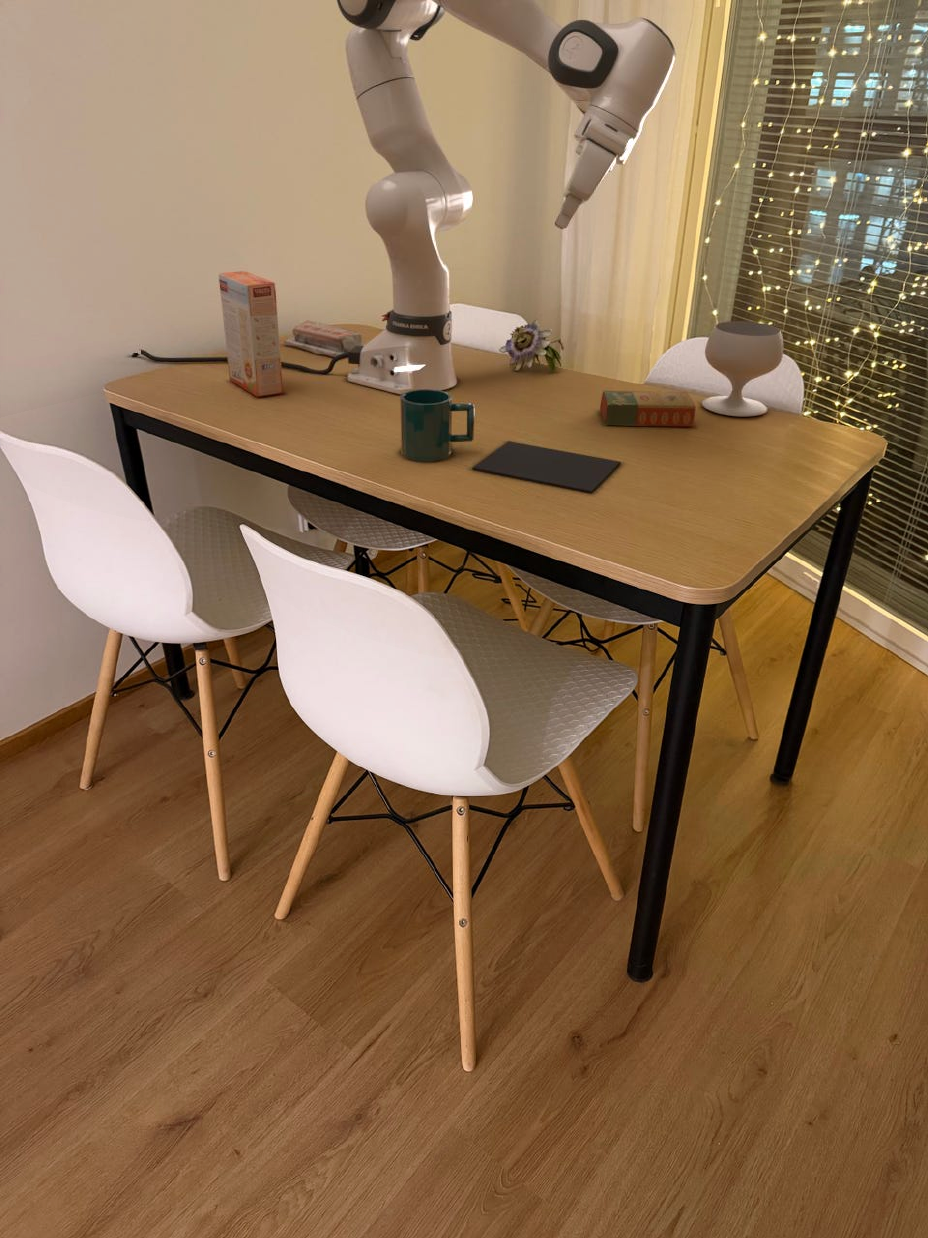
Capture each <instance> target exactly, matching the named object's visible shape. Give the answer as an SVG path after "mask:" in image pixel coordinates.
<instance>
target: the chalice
mask: <svg viewBox="0 0 928 1238" xmlns="http://www.w3.org/2000/svg"><path fill="white" fill-rule="evenodd" d="M708 336H709V337H708V339H707V342H706V344H705V347H704V356H705V359H706V362H707V363H708V364H709V365H710V366H711V367H712V368H713V369H714V370H715V371H717V372H719V374H721V375H723V376H724V377H725V378H726V379H727V380H728V381H729V383H730V384H731V389H732V390H731V393H730V394H729V395H718V396H717V395H716V396H710V397H707V398H705V399H703V400H702V402H701V405H702V406H703V408H704V409H706V410H708V411H710V412H713V413H717V414H720V415H725V416H732V417H755V416H761V415H764V414H765V413H766V412H768V407H767V406H766V405H765V404H764V403H762V402H760V401H758V400H755V399H752V398H748V397H744V396H743V394H742V393H743V389H744V387H745V386H746V385H747V384H748V383H749V382H750V381H752V380H755V379H757V378H759V377H762V376H764V375H766V374H769V373H771V372H773V371H774V370H775V369H776V368H778V367H779V365H780V364H781V363H782V360H783V357H784V339H783V338H784V337H783V334H782V331H781V330H780V329H779V328H778V327H777V326H774V325H771V324H767V323H761V322H755V321H744V320H743V321H742V320H734V321H733V320H732V321H724V322H723V321H722V322H719V323H717V324H716V325H714V327H713V328H712V330H711V332H710V334H709V335H708Z"/></svg>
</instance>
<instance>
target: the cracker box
mask: <svg viewBox="0 0 928 1238" xmlns="http://www.w3.org/2000/svg"><path fill="white" fill-rule="evenodd" d="M218 282H219V283H218V284H219V291H220V299H221V309H222V318H223V328H224V336H225V346H226V355H227V356H226V357H228V362H227V365H228V374H229V375H228V376H229V381H230V382H232V383H233V384H235V385H237V386H239V387H240V388H242V389H244V390H245V391H247V392H248V393H250V394H251V395H253V396H255V397H257V398H259V397H260V398H261V397H267V396H274V395H275V396H276V395H280V394H284V383H283V371H282V369H283V368H282V367H281V362H282V357H281V356H282V355H281V344H280V343H281V342H280V329H279V319H278V318H279V317H278V306H277V305H278V304H277V291H276V283H275V282H274V281H271V280H268V279H266V278H263V277H261V276H258V275H255V274H253V273H251V272H248V271H244V270H243V271H242V270H240V271H229V272H221V273H218Z"/></svg>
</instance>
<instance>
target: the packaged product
mask: <svg viewBox="0 0 928 1238" xmlns="http://www.w3.org/2000/svg"><path fill="white" fill-rule="evenodd" d="M292 334H293V337H290V338H287V339H284V340H283V344H284V346H288V347H293V348H298V349H301V350H305V351H308V352H311V353H313V354H315V355H323V356H327V357H331V358H334V357H336V356H338V355H340V354H343V353H347V352H349V351H350V350H351V349H353V348H354V347H355V346H365V345H366V344H367V343H366V344H365V343H363V339H362V338H363V336H362V334H361V332H358V331H354V330H349V329H346V328H343V327H338V326H335V325H334V326H333V325H330V324H326V323H321V322H317V321H313V320H305V321H303V322H302V323H300V324H298V325H297V326H295V327H294V328H293V329H292Z"/></svg>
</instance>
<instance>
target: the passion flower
mask: <svg viewBox="0 0 928 1238" xmlns="http://www.w3.org/2000/svg"><path fill="white" fill-rule="evenodd" d="M539 326H540V321H539V320H538V318H536V319H534V320H533V321H532V322H531V323H527V324H524V325H520V326H519V327H518V326H516V328H515V329H514V330H512V333H509V334H510V335H511V338H510V339H507V340H506V342H505V345H504V346H502V347H500V348H499V349H498V351H499V352H500V353H503V354H504V353H507V354H508V356H509V357H510V359H509V366H515V372H520V371H521V370H522V369H523V368H524V364H525V366H526V367H527V368H528V369H531V368H532V367H533V366H534V365H535V361H536V360H537V362H538V364H539V365H541V361H540V358H539V356H540V357H545V360H546V363H547V365H548V368H549V370H550V371H551V372H553V373H556V371H557V363H558V365H559V368H561V367H562V362H563V361H562V356H561V355H560V353H559V352H558V351H557V350H556V349H555V348H554V347H552V346H551V344H554V343H556V342H558V343H559V345H560V348H561V350H562V351H563V350H565V346H564V343H563V342H562V339H561V338H560V339H557V340H554V341H550V340H548V339H547V338H549V336H551V335H552V332H553V330H552V329H551V328H550V329H544V330H540V329H539ZM535 359H536V360H535Z"/></svg>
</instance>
